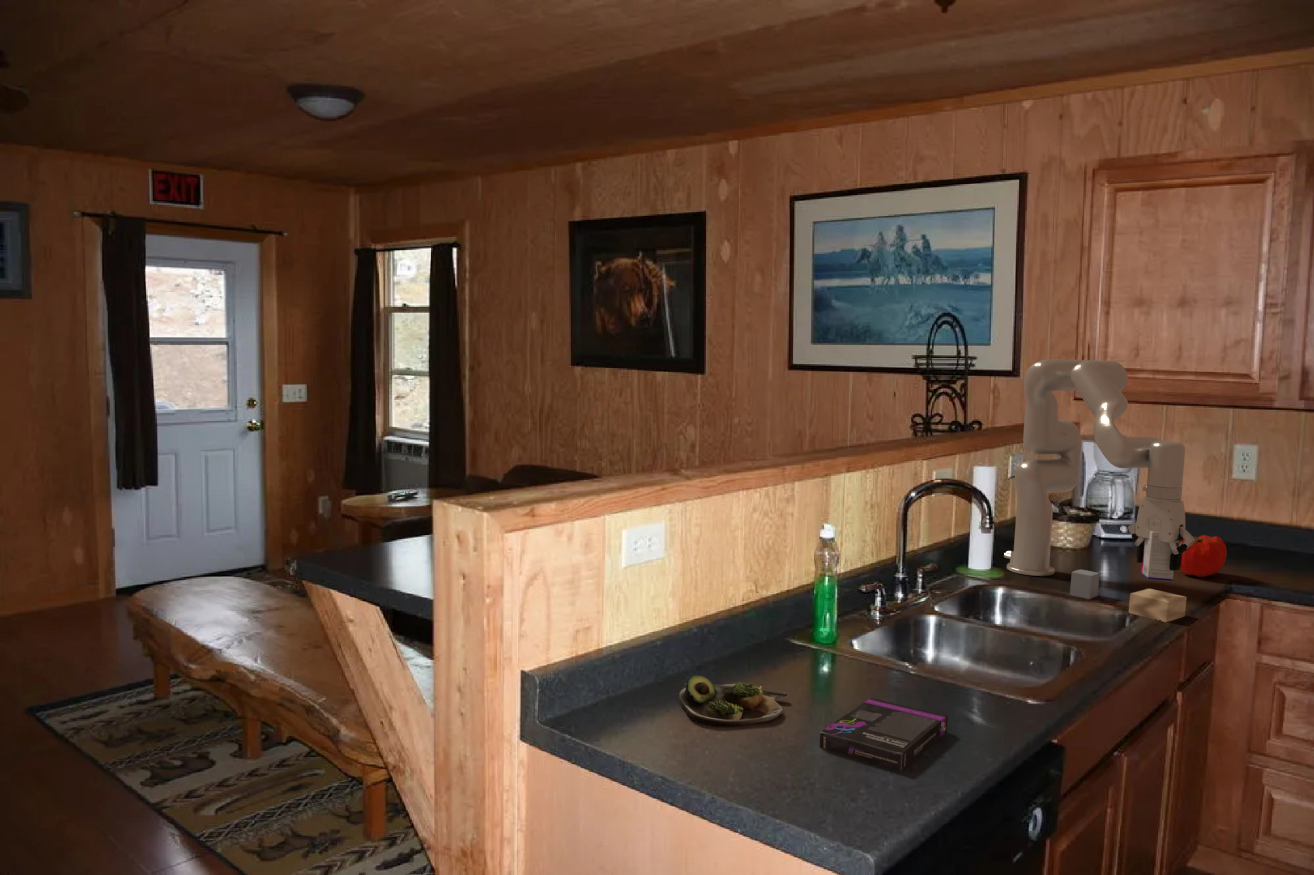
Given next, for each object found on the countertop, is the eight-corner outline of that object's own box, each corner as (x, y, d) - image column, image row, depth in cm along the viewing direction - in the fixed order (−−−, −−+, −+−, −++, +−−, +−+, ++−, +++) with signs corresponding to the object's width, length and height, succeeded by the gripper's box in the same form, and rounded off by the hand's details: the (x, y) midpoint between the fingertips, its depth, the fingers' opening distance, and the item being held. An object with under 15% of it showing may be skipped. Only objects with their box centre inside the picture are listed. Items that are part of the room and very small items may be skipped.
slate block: (1069, 595, 256) (1071, 572, 255) (1078, 591, 259) (1080, 569, 259) (1089, 599, 252) (1091, 575, 252) (1097, 595, 256) (1099, 573, 255)
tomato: (1173, 577, 277) (1177, 536, 276) (1168, 566, 290) (1172, 527, 289) (1228, 583, 272) (1231, 541, 271) (1220, 572, 285) (1224, 531, 284)
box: (869, 716, 174) (817, 750, 158) (870, 696, 173) (818, 728, 158) (948, 735, 165) (900, 773, 150) (949, 715, 165) (901, 750, 150)
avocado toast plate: (771, 687, 185) (772, 663, 184) (807, 724, 168) (808, 698, 167) (670, 693, 181) (670, 668, 180) (695, 732, 163) (696, 705, 163)
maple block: (1128, 613, 240) (1130, 593, 240) (1147, 608, 246) (1149, 588, 245) (1166, 623, 233) (1167, 602, 233) (1184, 617, 239) (1186, 596, 238)
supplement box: (1173, 581, 235) (1177, 533, 234) (1146, 579, 236) (1150, 532, 235) (1166, 575, 241) (1170, 529, 240) (1140, 574, 242) (1144, 527, 241)
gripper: (1121, 488, 242) (1115, 559, 244) (1188, 500, 227) (1182, 575, 229) (1141, 487, 246) (1135, 557, 248) (1208, 498, 231) (1202, 572, 232)
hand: (1158, 565), depth 238 cm, fingers closed on supplement box, 7 cm apart
